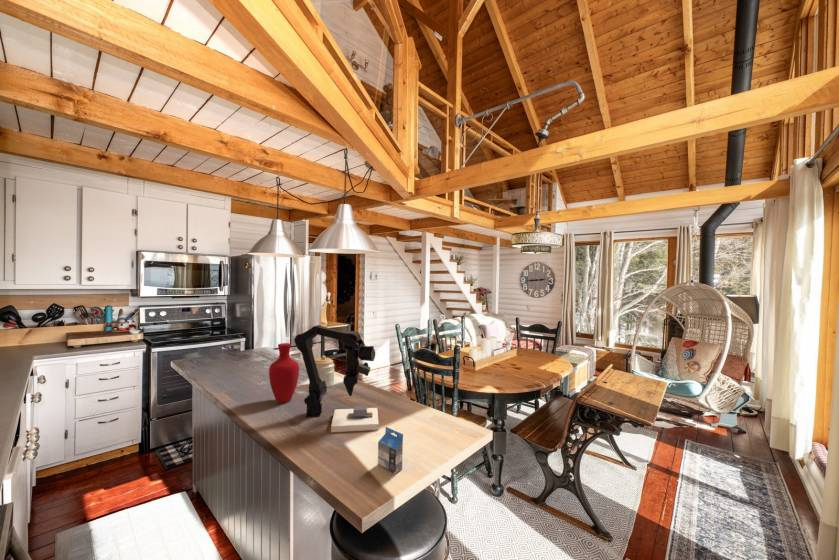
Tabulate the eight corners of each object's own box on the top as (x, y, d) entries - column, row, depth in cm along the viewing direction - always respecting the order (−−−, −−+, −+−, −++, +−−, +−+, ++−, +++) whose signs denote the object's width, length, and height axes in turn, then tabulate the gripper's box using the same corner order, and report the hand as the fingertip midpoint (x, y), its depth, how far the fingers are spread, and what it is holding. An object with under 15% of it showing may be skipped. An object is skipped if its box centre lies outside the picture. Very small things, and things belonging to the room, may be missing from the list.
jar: (310, 382, 209) (311, 354, 209) (332, 380, 215) (332, 352, 214) (313, 389, 197) (314, 359, 197) (336, 386, 203) (336, 357, 203)
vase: (274, 408, 168) (274, 348, 168) (264, 400, 179) (265, 343, 179) (303, 401, 178) (304, 344, 178) (292, 394, 189) (293, 340, 189)
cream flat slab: (331, 432, 144) (331, 426, 144) (334, 414, 162) (335, 409, 162) (378, 429, 148) (378, 423, 148) (377, 412, 165) (377, 407, 165)
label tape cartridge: (377, 464, 121) (377, 430, 120) (384, 460, 124) (385, 426, 124) (395, 474, 115) (395, 438, 115) (403, 469, 118) (403, 434, 118)
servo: (347, 423, 152) (347, 410, 152) (348, 420, 156) (348, 407, 156) (372, 422, 154) (372, 409, 154) (372, 418, 158) (372, 406, 158)
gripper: (369, 364, 150) (368, 399, 151) (369, 354, 169) (368, 385, 169) (343, 364, 149) (342, 399, 149) (347, 354, 167) (345, 385, 168)
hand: (351, 392), depth 159 cm, fingers open, 9 cm apart
